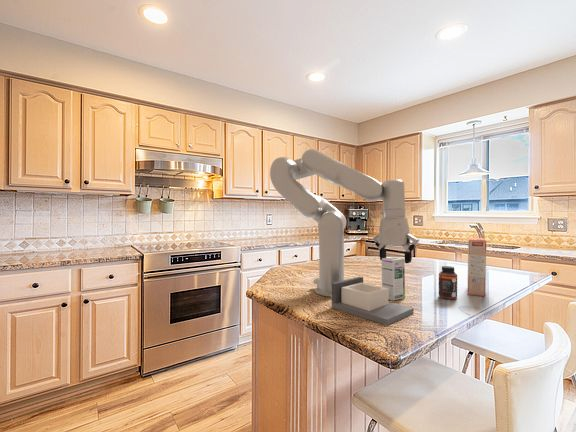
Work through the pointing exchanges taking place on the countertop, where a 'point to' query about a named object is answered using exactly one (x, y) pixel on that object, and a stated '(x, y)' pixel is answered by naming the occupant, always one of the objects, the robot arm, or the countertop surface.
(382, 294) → the socket block
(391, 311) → the slide base
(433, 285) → the countertop surface
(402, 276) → the syrup box
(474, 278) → the cracker box
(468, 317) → the countertop surface
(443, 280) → the supplement bottle
